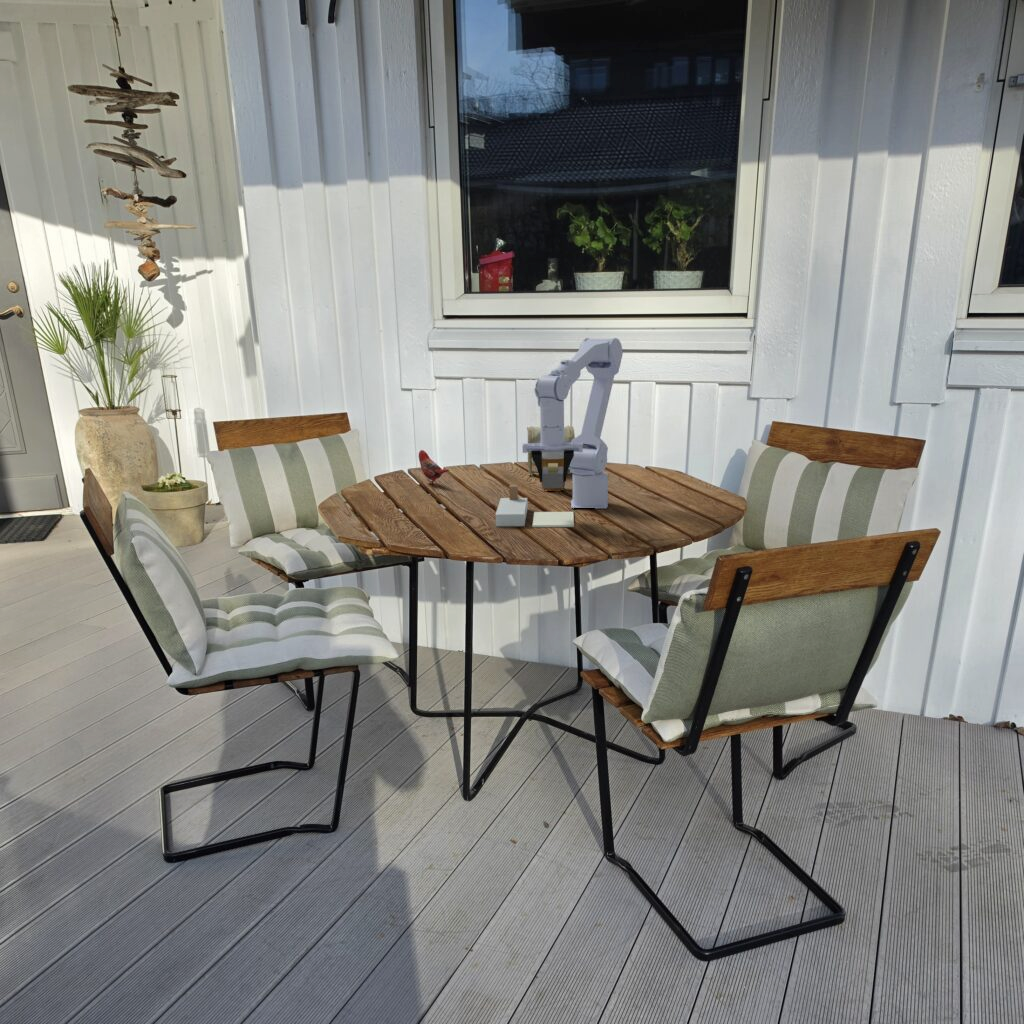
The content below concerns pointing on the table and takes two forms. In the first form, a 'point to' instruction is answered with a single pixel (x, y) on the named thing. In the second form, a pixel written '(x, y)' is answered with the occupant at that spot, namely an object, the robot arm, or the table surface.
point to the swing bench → (535, 437)
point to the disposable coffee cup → (553, 458)
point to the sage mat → (553, 519)
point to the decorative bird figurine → (430, 467)
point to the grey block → (552, 476)
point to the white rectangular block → (512, 509)
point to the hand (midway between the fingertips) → (552, 480)
